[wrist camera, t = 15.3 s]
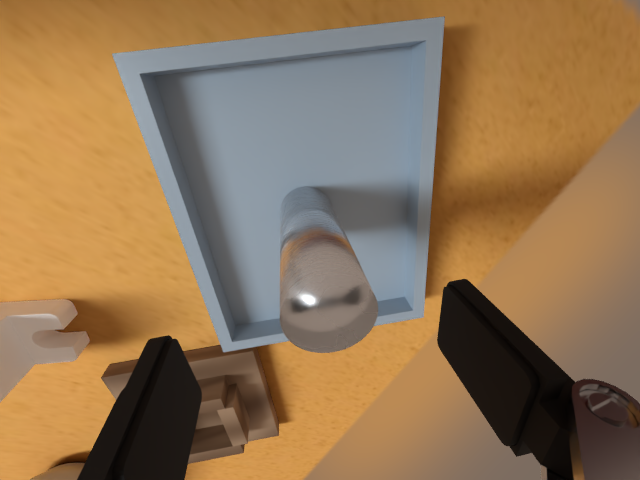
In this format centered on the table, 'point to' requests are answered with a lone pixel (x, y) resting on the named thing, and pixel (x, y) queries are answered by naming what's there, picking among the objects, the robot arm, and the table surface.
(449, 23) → the table surface
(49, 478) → the teacup
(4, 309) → the cable organizer
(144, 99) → the tray
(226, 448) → the brown square socket base
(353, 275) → the pin
